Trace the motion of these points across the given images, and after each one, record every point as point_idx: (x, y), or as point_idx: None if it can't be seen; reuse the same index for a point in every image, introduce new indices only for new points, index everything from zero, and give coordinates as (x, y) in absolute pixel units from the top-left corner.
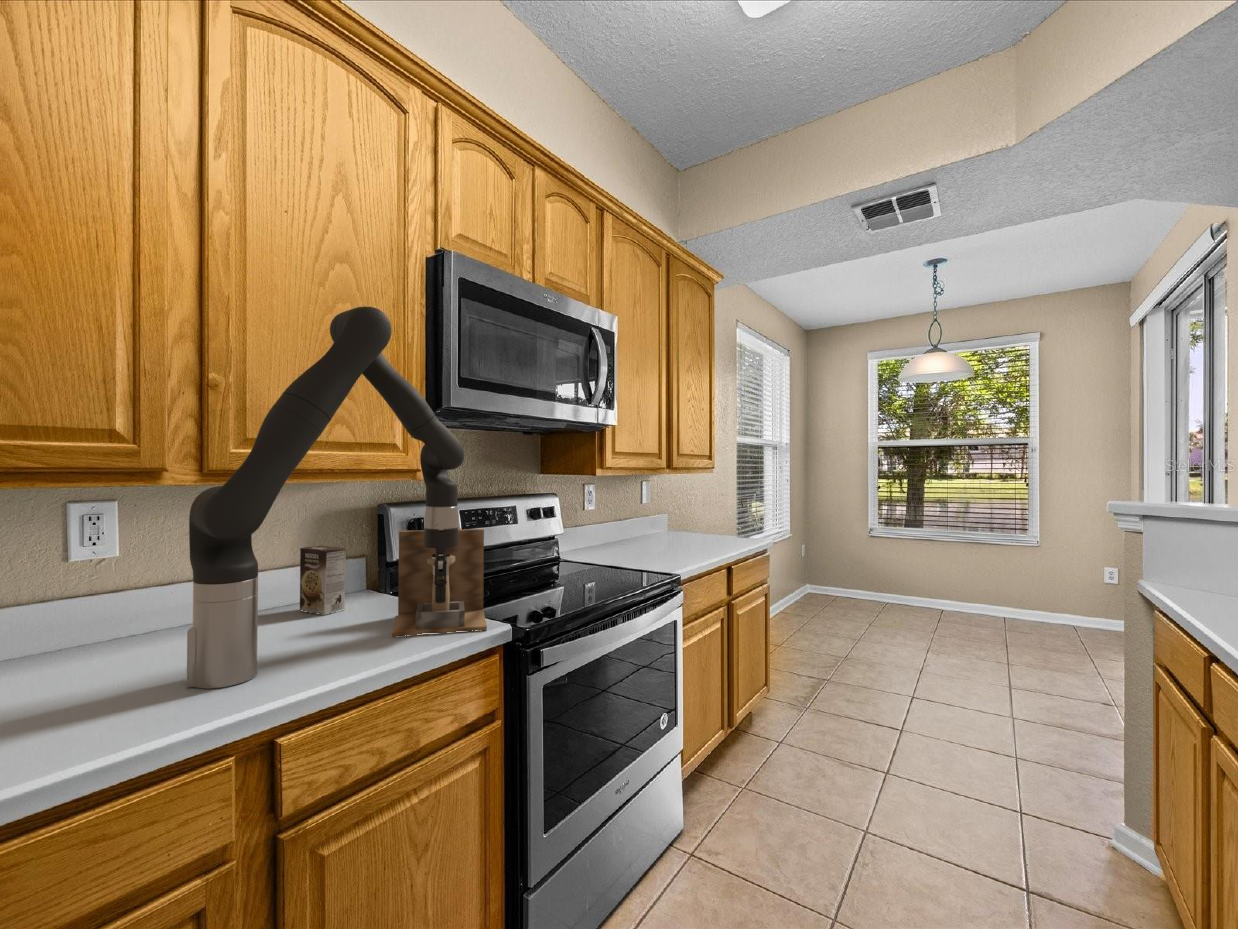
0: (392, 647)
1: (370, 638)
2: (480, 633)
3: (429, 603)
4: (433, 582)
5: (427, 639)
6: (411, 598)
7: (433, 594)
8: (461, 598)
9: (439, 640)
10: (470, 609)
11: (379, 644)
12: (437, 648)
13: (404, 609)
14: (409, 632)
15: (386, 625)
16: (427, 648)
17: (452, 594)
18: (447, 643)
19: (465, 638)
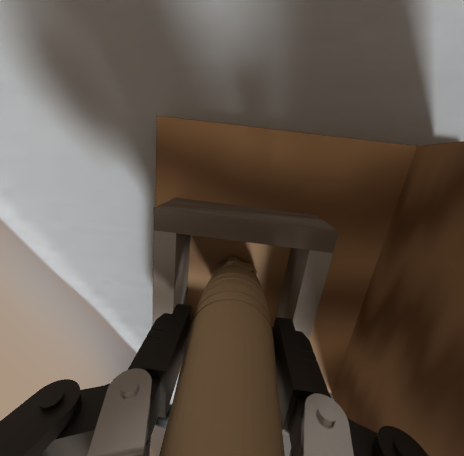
0: (60, 121)
1: (175, 41)
2: (141, 343)
3: (316, 275)
4: (208, 384)
5: (119, 223)
6: (455, 209)
7: (208, 319)
8: (370, 382)
9: (103, 251)
10: (341, 368)
11: (97, 77)
12: (36, 239)
13: (424, 172)
14: (156, 177)
15: (330, 101)
16: (39, 216)
17: (392, 373)
18: (74, 265)
19: (108, 308)
